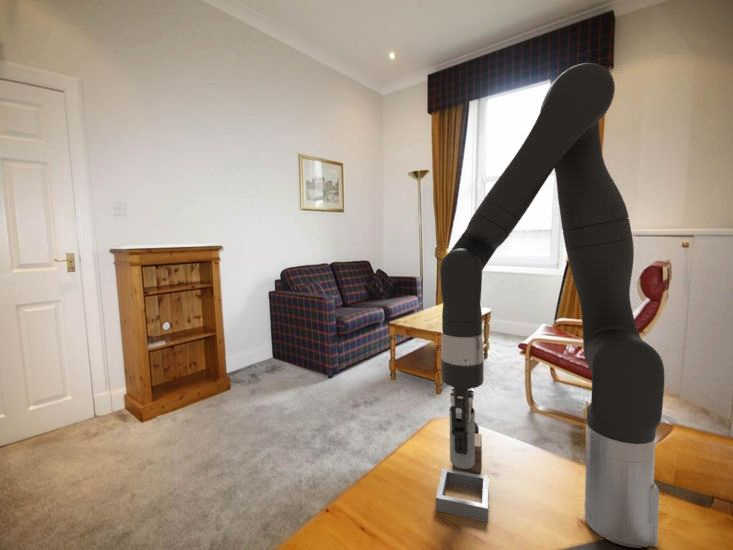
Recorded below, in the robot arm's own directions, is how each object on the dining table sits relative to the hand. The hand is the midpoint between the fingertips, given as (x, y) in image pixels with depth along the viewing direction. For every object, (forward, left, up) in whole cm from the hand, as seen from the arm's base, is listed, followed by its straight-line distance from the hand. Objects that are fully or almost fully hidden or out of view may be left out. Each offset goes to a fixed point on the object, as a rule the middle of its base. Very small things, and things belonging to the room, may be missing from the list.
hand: (462, 444), depth 66 cm
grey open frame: (0, 0, -11) cm, 11 cm away
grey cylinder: (0, 0, -4) cm, 4 cm away
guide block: (0, -10, -11) cm, 15 cm away
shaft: (0, -15, -9) cm, 17 cm away
